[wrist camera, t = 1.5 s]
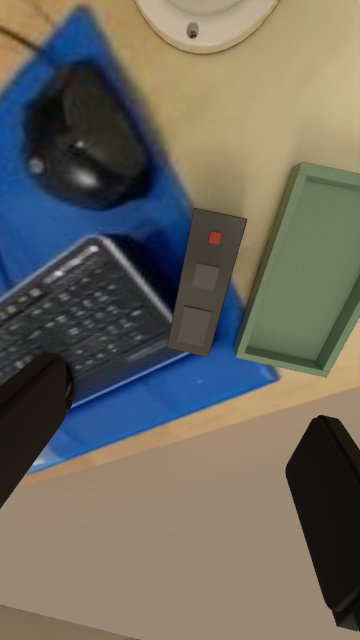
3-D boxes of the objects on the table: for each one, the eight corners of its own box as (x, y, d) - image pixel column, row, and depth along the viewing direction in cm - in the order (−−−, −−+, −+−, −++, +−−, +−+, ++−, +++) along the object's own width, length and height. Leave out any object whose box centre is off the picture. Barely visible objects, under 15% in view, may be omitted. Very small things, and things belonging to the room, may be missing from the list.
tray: (291, 167, 21) (301, 161, 19) (407, 191, 21) (431, 187, 19) (233, 346, 29) (235, 357, 26) (317, 365, 28) (326, 377, 26)
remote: (195, 209, 23) (193, 207, 20) (242, 218, 23) (248, 218, 20) (170, 334, 29) (166, 349, 26) (208, 342, 29) (208, 358, 25)
